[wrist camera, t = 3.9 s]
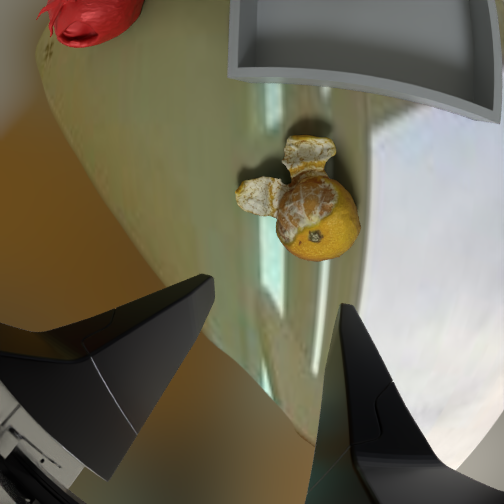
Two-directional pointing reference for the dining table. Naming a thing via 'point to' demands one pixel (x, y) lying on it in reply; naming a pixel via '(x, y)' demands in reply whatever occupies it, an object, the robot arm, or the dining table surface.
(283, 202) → the fruit
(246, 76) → the serving bin
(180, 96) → the dining table surface
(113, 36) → the pomegranate
